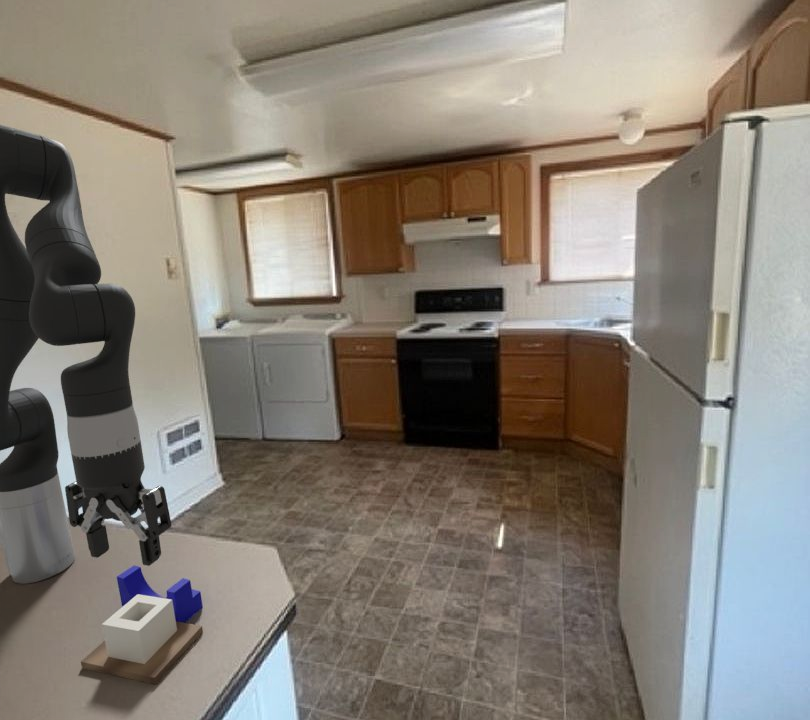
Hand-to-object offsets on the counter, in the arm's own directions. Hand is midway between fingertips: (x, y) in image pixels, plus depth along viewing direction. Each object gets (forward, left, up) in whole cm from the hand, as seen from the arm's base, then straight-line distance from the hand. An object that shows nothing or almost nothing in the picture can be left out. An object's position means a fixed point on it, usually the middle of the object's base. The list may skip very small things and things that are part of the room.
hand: (125, 557), depth 62 cm
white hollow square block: (0, 0, -13) cm, 13 cm away
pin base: (0, 0, -14) cm, 14 cm away
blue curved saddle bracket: (-4, +8, -15) cm, 17 cm away
